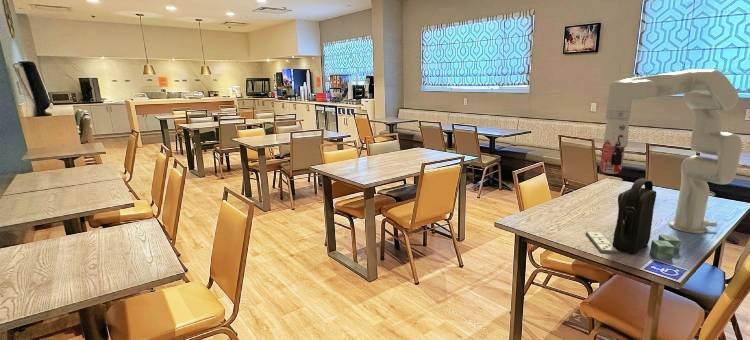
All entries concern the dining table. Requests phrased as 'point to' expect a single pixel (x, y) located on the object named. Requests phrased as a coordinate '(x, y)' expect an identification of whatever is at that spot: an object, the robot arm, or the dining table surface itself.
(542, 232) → the dining table surface
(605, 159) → the soda can
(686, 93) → the robot arm
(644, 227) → the shoulder bag
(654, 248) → the sage green cube
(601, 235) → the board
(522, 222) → the dining table surface
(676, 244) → the pale green cube
